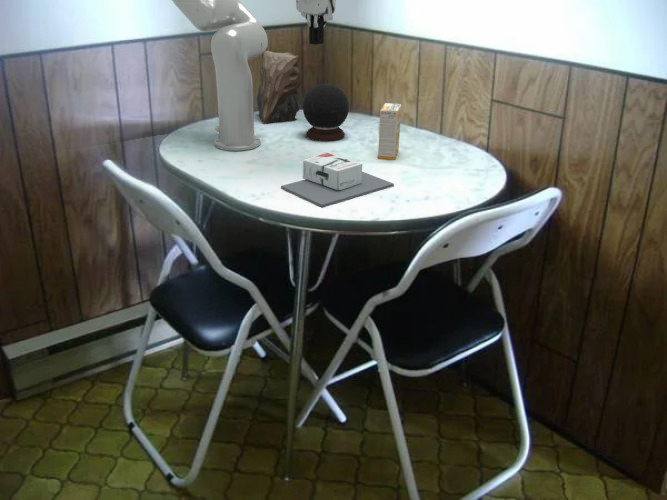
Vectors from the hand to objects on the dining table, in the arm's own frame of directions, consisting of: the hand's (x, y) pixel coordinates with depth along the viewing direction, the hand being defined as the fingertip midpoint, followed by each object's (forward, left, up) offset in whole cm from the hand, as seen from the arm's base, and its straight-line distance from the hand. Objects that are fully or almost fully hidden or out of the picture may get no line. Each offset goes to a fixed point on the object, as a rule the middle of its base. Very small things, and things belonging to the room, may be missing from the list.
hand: (316, 43), depth 170 cm
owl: (-38, +14, -29) cm, 50 cm away
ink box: (+12, -10, -26) cm, 30 cm away
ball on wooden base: (-14, +15, -29) cm, 36 cm away
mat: (+20, -10, -29) cm, 37 cm away
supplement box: (+10, +17, -29) cm, 35 cm away
